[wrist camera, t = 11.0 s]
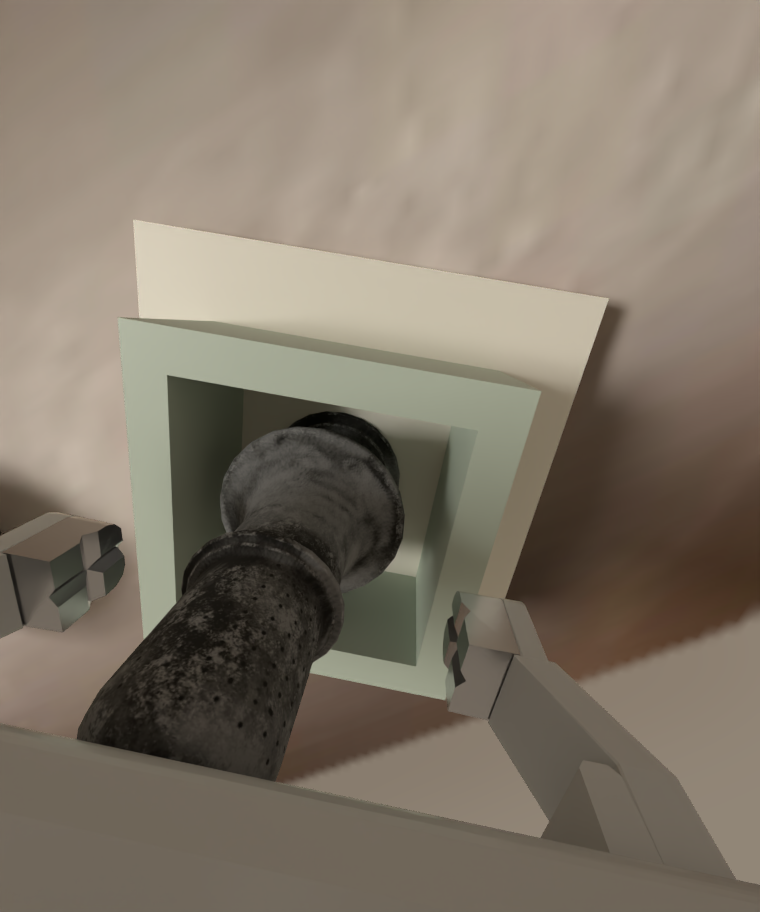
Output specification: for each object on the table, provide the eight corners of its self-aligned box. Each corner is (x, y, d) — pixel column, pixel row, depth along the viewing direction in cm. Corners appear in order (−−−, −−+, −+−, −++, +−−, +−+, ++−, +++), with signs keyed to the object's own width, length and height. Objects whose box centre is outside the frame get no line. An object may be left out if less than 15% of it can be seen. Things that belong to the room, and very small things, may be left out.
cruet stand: (156, 228, 13) (-16, 162, 8) (592, 301, 13) (718, 281, 8) (172, 581, 19) (75, 681, 13) (478, 641, 18) (505, 770, 13)
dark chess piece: (422, 420, 14) (456, 861, 2) (391, 551, 16) (328, 1128, 4) (269, 389, 14) (-394, 659, 2) (258, 522, 16) (-138, 1010, 4)
